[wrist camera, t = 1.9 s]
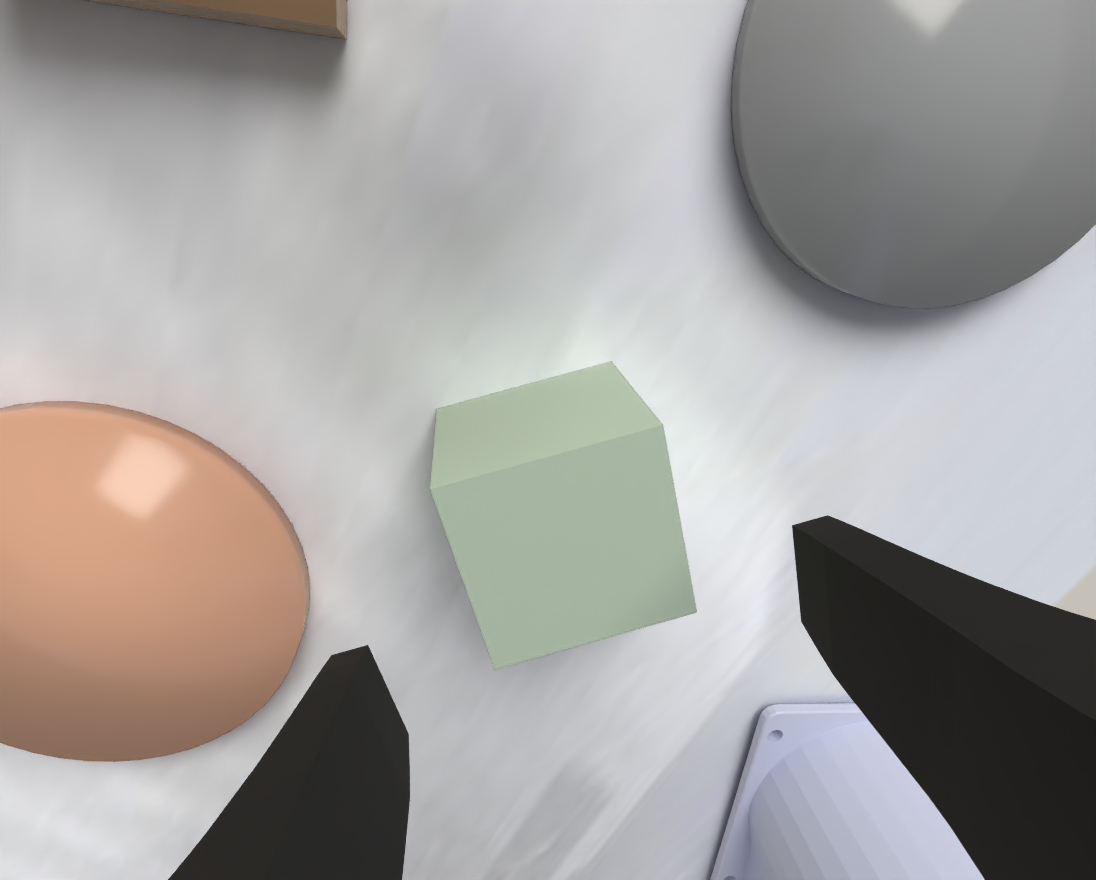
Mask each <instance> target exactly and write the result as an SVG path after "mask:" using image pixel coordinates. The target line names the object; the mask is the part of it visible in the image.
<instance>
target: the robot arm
mask: <svg viewBox="0 0 1096 880" xmlns="http://www.w3.org/2000/svg"><path fill="white" fill-rule="evenodd" d="M792 529H793V539H794V550H795V560H796V571H797V581H798V592H799V602H800V613H801V622H802V624H803V625H804V627H805V629H806V630H807V632H808V634H809V636H810V637H811V639H812V641H813V642H814V644H815V646H816V648H817V649H818V651H819V653H820V654H821V656H822V657H823V659H824V661H825V662H826V664H827V666H828V667H829V669H830V670H831V672H832V674H833V675H834V676H835V678H836V679H837V680H838V682H839V683H840V684H841V686H842V687H843V688H844V690H845V691H846V692H847V694H848V695H849V696H850V697H851V699H852V700H853V701H854V703H839V704H775V705H771V706H769V707H767V708H765V709H764V710H763V711H762V713H761V715H760V717H759V720H758V724H757V727H756V730H755V734H754V737H753V740H752V744H751V747H750V750H749V753H748V757H747V760H746V763H745V767H744V770H743V773H742V777H741V780H740V783H739V787H738V790H737V793H736V796H735V800H734V803H733V806H732V810H731V813H730V816H729V820H728V823H727V826H726V830H725V833H724V836H723V839H722V843H721V846H720V849H719V853H718V856H717V859H716V863H715V866H714V869H713V873H712V876H711V879H710V880H1096V620H1094V619H1091V618H1088V617H1084V616H1081V615H1077V614H1074V613H1071V612H1068V611H1065V610H1062V609H1059V608H1056V607H1053V606H1050V605H1047V604H1044V603H1041V602H1038V601H1035V600H1033V599H1030V598H1027V597H1024V596H1022V595H1019V594H1016V593H1013V592H1011V591H1008V590H1005V589H1003V588H1000V587H997V586H994V585H992V584H989V583H986V582H984V581H981V580H979V579H976V578H974V577H971V576H969V575H966V574H964V573H961V572H959V571H956V570H954V569H951V568H949V567H946V566H944V565H942V564H939V563H937V562H935V561H932V560H930V559H927V558H925V557H923V556H920V555H918V554H916V553H914V552H911V551H909V550H907V549H904V548H902V547H900V546H898V545H895V544H893V543H891V542H888V541H886V540H884V539H882V538H879V537H877V536H875V535H873V534H870V533H868V532H866V531H864V530H861V529H859V528H857V527H854V526H852V525H850V524H847V523H845V522H843V521H840V520H838V519H835V518H833V517H830V516H824V517H820V518H817V519H813V520H810V521H806V522H803V523H799V524H796V525H792ZM409 801H410V764H409V734H408V732H407V730H406V727H405V725H404V723H403V721H402V719H401V716H400V714H399V712H398V710H397V708H396V705H395V703H394V701H393V699H392V697H391V695H390V692H389V690H388V688H387V686H386V684H385V681H384V679H383V677H382V675H381V673H380V670H379V668H378V666H377V664H376V662H375V659H374V657H373V655H372V653H371V651H370V648H369V646H368V645H366V646H363V647H359V648H356V649H352V650H349V651H345V652H342V653H338V654H334V655H331V657H330V658H329V660H328V661H327V662H326V664H325V665H324V667H323V668H322V669H321V671H320V672H319V674H318V675H317V677H316V678H315V680H314V681H313V683H312V684H311V686H310V687H309V689H308V690H307V692H306V693H305V695H304V696H303V698H302V699H301V701H300V702H299V704H298V705H297V707H296V708H295V710H294V711H293V713H292V714H291V716H290V717H289V719H288V720H287V722H286V723H285V725H284V726H283V728H282V729H281V731H280V732H279V734H278V735H277V736H276V738H275V739H274V741H273V742H272V744H271V745H270V747H269V748H268V750H267V751H266V752H265V754H264V755H263V757H262V758H261V760H260V761H259V763H258V764H257V766H256V767H255V768H254V770H253V771H252V772H251V774H250V775H249V776H248V778H247V779H246V780H245V782H244V783H243V784H242V786H241V787H240V788H239V790H238V791H237V793H236V794H235V795H234V797H233V798H232V799H231V801H230V802H229V803H228V805H227V806H226V807H225V809H224V810H223V811H222V813H221V814H220V815H219V817H218V818H217V819H216V821H215V822H214V823H213V825H212V826H211V827H210V829H209V830H208V831H207V833H206V834H205V835H204V836H203V838H202V839H201V840H200V842H199V843H198V844H197V845H196V847H195V848H194V849H193V850H192V852H191V853H190V854H189V855H188V856H187V858H186V859H185V860H184V861H183V862H182V864H181V865H180V866H179V867H178V869H177V870H176V871H175V872H174V873H173V874H172V876H171V877H170V878H169V879H168V880H402V874H403V864H404V854H405V844H406V834H407V823H408V813H409Z"/></svg>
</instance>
